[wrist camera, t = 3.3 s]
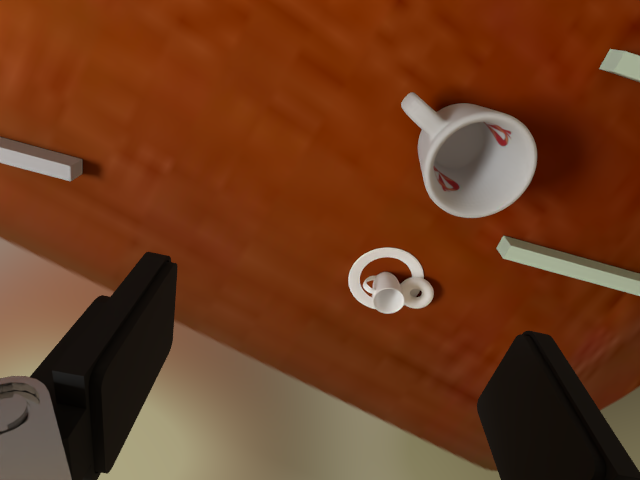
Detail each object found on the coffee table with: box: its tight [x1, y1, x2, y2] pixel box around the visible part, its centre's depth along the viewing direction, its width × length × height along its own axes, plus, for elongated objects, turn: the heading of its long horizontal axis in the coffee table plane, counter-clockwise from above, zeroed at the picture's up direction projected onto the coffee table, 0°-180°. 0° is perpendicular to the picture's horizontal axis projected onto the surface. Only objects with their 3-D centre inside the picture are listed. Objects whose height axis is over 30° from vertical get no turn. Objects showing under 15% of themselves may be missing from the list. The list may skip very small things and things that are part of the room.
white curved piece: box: [348, 248, 434, 314], centre depth 43 cm, size 9×8×4 cm
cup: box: [401, 92, 537, 218], centre depth 33 cm, size 11×8×8 cm
